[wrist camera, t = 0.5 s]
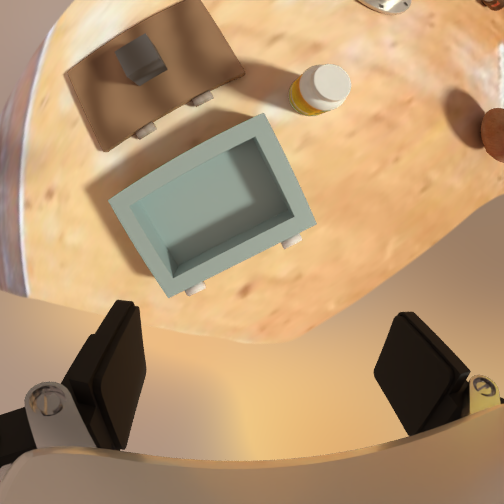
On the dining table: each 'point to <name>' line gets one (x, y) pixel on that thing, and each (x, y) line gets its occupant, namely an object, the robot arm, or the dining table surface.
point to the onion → (494, 133)
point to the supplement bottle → (319, 89)
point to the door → (153, 72)
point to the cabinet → (214, 207)
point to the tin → (494, 4)
